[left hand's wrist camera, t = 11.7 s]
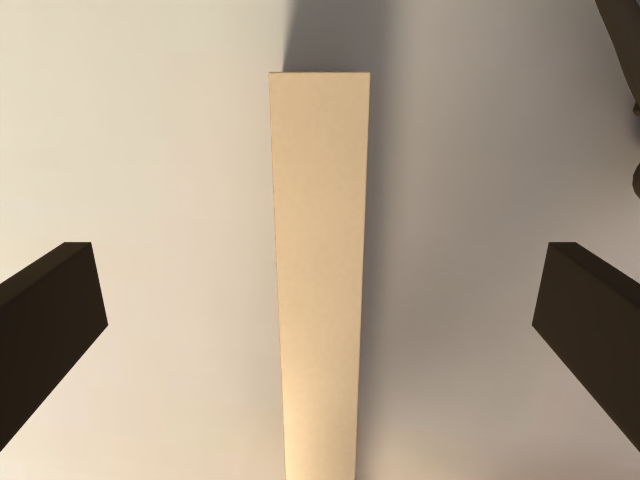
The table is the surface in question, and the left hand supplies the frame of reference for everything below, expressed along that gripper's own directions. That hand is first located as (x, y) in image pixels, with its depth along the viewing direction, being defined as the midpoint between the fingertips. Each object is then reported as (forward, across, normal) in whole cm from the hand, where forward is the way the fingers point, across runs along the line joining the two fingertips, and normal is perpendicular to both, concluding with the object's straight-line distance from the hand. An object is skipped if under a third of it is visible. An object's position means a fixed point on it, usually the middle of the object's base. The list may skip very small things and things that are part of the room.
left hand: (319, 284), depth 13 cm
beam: (+19, 0, -25) cm, 32 cm away
